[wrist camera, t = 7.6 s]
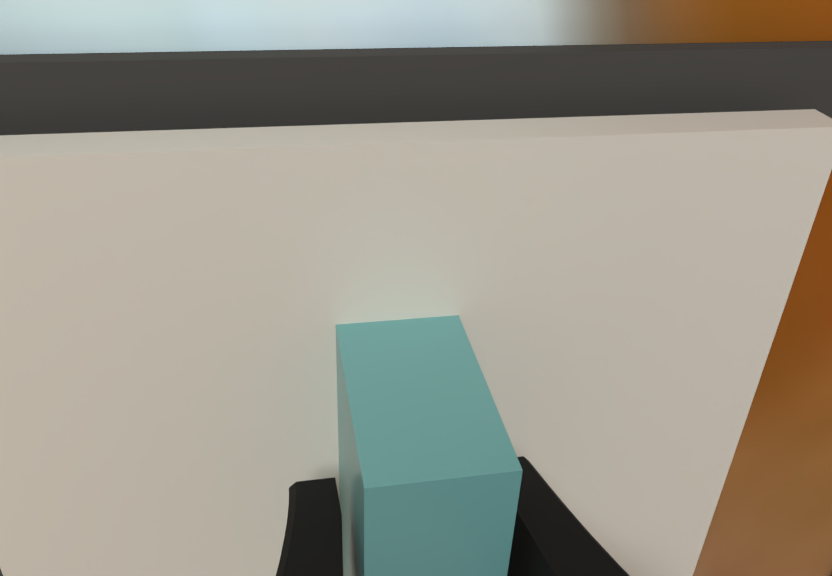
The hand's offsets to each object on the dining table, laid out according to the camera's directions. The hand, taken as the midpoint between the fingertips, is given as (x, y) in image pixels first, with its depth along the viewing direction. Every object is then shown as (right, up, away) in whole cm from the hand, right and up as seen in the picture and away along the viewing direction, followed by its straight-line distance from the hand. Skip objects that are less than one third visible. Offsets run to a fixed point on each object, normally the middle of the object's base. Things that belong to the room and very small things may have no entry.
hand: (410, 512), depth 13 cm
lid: (0, +1, +2) cm, 2 cm away
